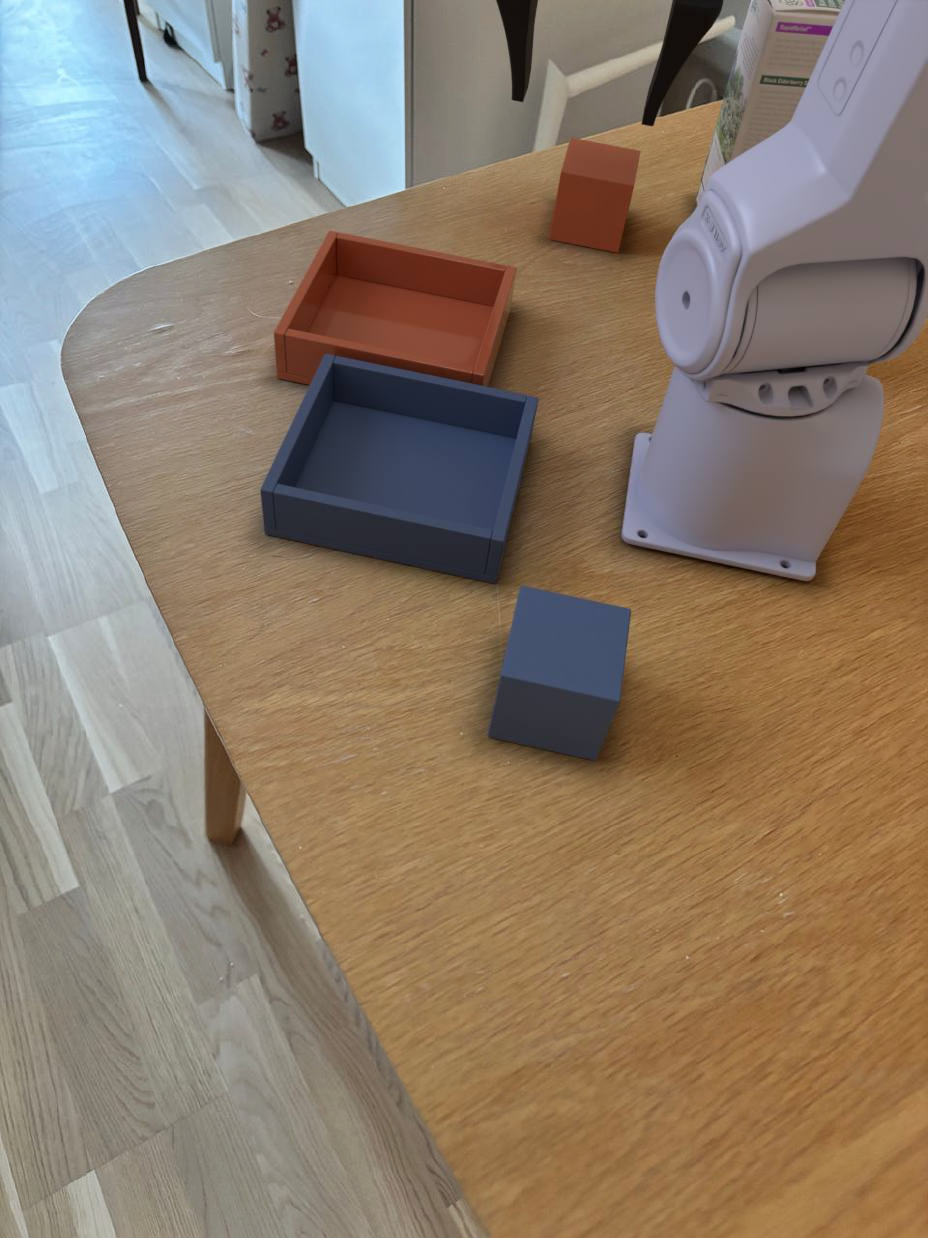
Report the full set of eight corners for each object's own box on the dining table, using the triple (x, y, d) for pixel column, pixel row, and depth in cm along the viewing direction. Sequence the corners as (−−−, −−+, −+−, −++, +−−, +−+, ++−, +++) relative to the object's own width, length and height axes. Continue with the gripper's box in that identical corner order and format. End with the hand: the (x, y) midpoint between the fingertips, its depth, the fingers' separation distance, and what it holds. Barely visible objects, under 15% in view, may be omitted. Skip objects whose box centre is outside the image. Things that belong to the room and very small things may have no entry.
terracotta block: (624, 217, 66) (640, 150, 63) (618, 253, 64) (634, 185, 60) (558, 204, 67) (570, 136, 63) (548, 239, 64) (560, 171, 60)
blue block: (608, 672, 43) (632, 608, 39) (596, 761, 40) (620, 701, 36) (506, 650, 43) (520, 584, 40) (487, 737, 40) (500, 674, 37)
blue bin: (530, 441, 52) (539, 396, 49) (496, 584, 45) (504, 541, 43) (325, 398, 52) (324, 352, 50) (264, 534, 46) (259, 489, 44)
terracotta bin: (510, 311, 59) (517, 266, 56) (478, 420, 52) (484, 375, 50) (329, 275, 59) (328, 229, 57) (276, 378, 53) (273, 332, 50)
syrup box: (787, 252, 65) (879, 15, 54) (700, 244, 65) (775, 4, 54) (771, 207, 69) (855, -25, 57) (690, 199, 69) (757, -35, 57)
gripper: (788, -183, 49) (708, 97, 59) (502, -232, 49) (475, 54, 60) (789, -142, 44) (704, 153, 55) (477, -196, 45) (453, 105, 56)
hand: (584, 105), depth 57 cm, fingers open, 7 cm apart
